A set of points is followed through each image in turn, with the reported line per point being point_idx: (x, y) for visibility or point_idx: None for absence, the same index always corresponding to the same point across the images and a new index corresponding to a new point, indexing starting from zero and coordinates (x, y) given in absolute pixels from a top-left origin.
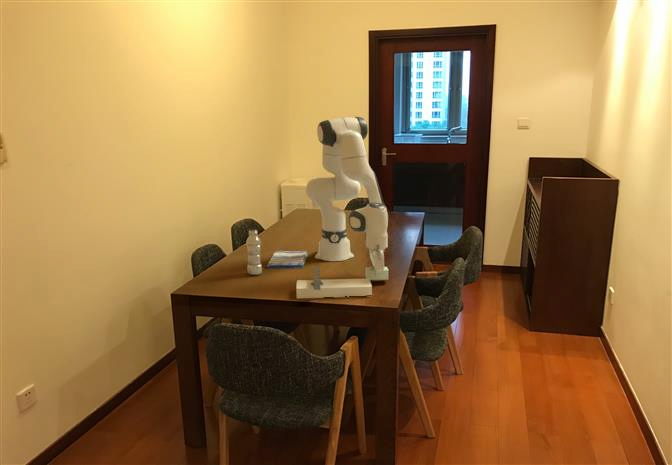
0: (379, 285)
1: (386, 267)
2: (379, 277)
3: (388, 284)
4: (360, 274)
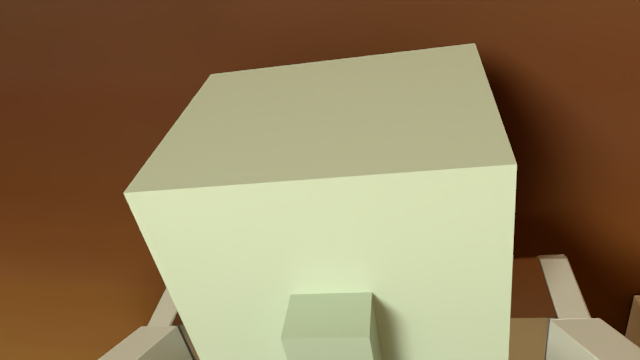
0: (547, 164)
1: (206, 205)
2: (561, 257)
3: (512, 10)
4: (91, 346)
